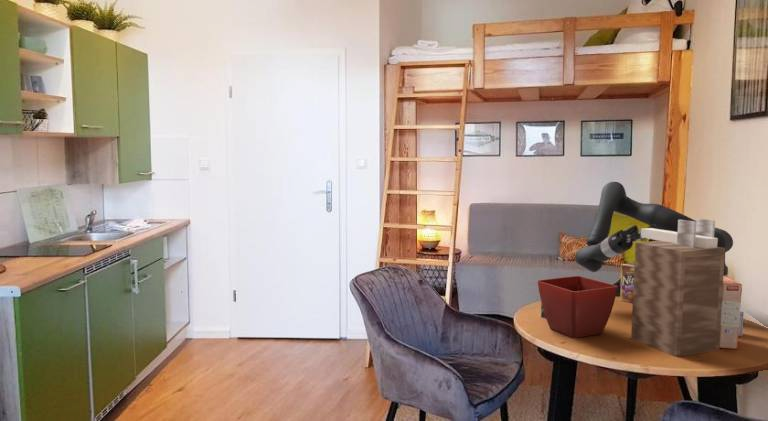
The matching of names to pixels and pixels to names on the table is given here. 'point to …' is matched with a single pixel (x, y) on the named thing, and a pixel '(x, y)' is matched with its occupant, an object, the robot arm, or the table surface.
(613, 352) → the table surface
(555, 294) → the plant pot
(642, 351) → the table surface
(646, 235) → the cream box
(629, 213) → the robot arm
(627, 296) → the candy box
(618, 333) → the table surface
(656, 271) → the walnut shelf
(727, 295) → the cracker box
